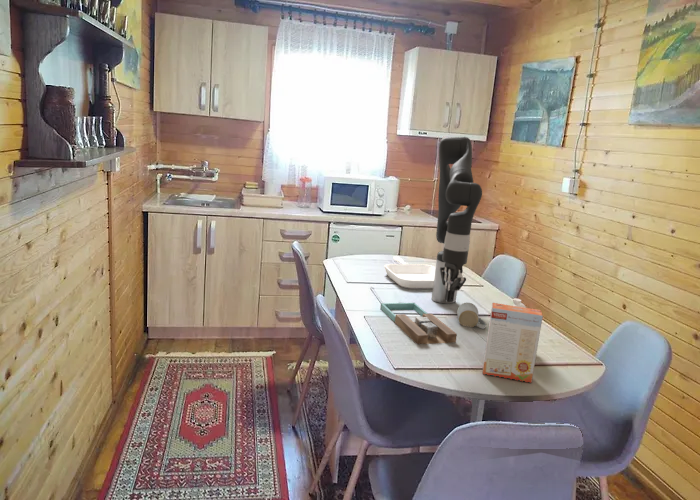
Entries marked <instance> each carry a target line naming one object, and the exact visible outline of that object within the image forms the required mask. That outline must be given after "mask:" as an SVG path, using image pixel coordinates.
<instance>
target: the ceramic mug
mask: <svg viewBox="0 0 700 500" xmlns="http://www.w3.org/2000/svg"><path fill="white" fill-rule="evenodd" d="M456 314H457V320H458V322H459V324H460V326H463V327H469V328H474V327H477V328H479V329H485V328H486V327H487V323H486V322H485V321H484V319H482V318H481V317H479V310H478V308H477V306H476V305H475V304H474V303H471V302H464V303H463V302H462V303H461V304H460V305H459V306H458V308H457V312H456Z"/></svg>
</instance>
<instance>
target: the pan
mask: <svg viewBox="0 0 700 500" xmlns="http://www.w3.org/2000/svg"><path fill="white" fill-rule="evenodd" d="M392 259H393V260H394V261H395V262H397V263H387V264H385V265H384V267H383V268H384V269H385V272H386V275H387V277H388V278H390V280H392V281H393V282H394V283H395V284H396V285H398V286H399V287H401V288H405V289H411V290H414V289H416V290H421V289H423V290H425V289H426V290H427V289H429V290H431V289H432V290H433V283H434V276H435V268H436V265H435V266H434V265H431V264H426V263H425V264H421V263H420V264H419V263H417V264H415V263H414V264H413V263H407V262H405V261H404V259H402V258H401V257H400V256H397V255H395V256H393V257H392Z"/></svg>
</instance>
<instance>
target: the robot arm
mask: <svg viewBox="0 0 700 500" xmlns="http://www.w3.org/2000/svg"><path fill="white" fill-rule="evenodd" d="M472 146H473V145H472V140H471V139H470V137H466V136H450V137H449V136H448V137H443V138H441V139H440V141H439V146H438V161H439V163H438V165H439V166H438V167H439V182H438V183H439V184H438V193H437V195H438V200H437V202H438V203H437V204H438V206H437V207H438V209H437V211H438V216H437V223H436V233H435V235H436V241H437V242H438V243H440V244H443V250H441V251H439V252H438V253H437V255H436V262H435V267H436V268H435V276H434V283H433V289H432V293H431V300H432V301H433V302H436V303H439V304H447V305H448V304H453V303H457V302H456V301H457V296H458V291H460V290H461V288H462V287H463V285H464V284H465V283H466V281H467V278H466V277H464V276H463V272H464V271H463V270H464V269H463V267H464V265H466V264H467V262H468V255H469V249H470V243H471V240H470V239H471V237H470V236H471V230H472V223H473V219H474V216H475V213H476V210H477V209H478V206H479V204H480V202H481V200H482V198H483V189H482V186H481V185H480V184H479V183H477V182H474V177H473V171H472V165H473V147H472ZM450 165H452V166H451V167H450ZM461 206H465V207H466V208H465V209H464V210H463V211H458V210H459V209H460V207H461Z"/></svg>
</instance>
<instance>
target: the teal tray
mask: <svg viewBox="0 0 700 500" xmlns="http://www.w3.org/2000/svg"><path fill="white" fill-rule="evenodd" d="M379 308H380V311H382V312H383V313H384V314H385V315H386V316H387V317H388V318H390V319H391V320H392V322H394V323H395V317H396V314H395V313H394V312H393V311H394V310H395V311H399V310H400V311H415V312H416V313H418V314H419V315H420V317H422V315H423V314H429V313H428V312H427V311H426V310H424V309H423V308H422V307H420V306H419V304H417V303H416V302H386V303H385V302H382V303H380V307H379ZM391 310H393V311H391Z"/></svg>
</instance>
